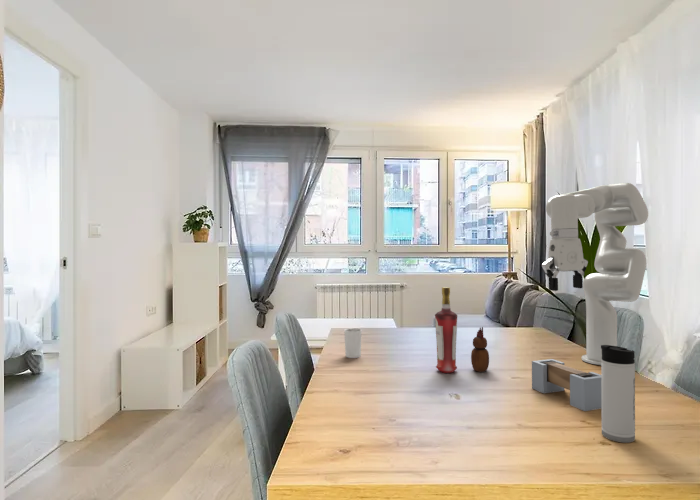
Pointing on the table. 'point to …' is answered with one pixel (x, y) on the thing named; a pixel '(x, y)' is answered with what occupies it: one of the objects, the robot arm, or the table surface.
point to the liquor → (446, 335)
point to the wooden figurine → (480, 353)
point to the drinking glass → (352, 342)
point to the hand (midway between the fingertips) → (565, 289)
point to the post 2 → (586, 392)
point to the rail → (562, 374)
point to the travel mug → (618, 393)
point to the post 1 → (543, 377)
